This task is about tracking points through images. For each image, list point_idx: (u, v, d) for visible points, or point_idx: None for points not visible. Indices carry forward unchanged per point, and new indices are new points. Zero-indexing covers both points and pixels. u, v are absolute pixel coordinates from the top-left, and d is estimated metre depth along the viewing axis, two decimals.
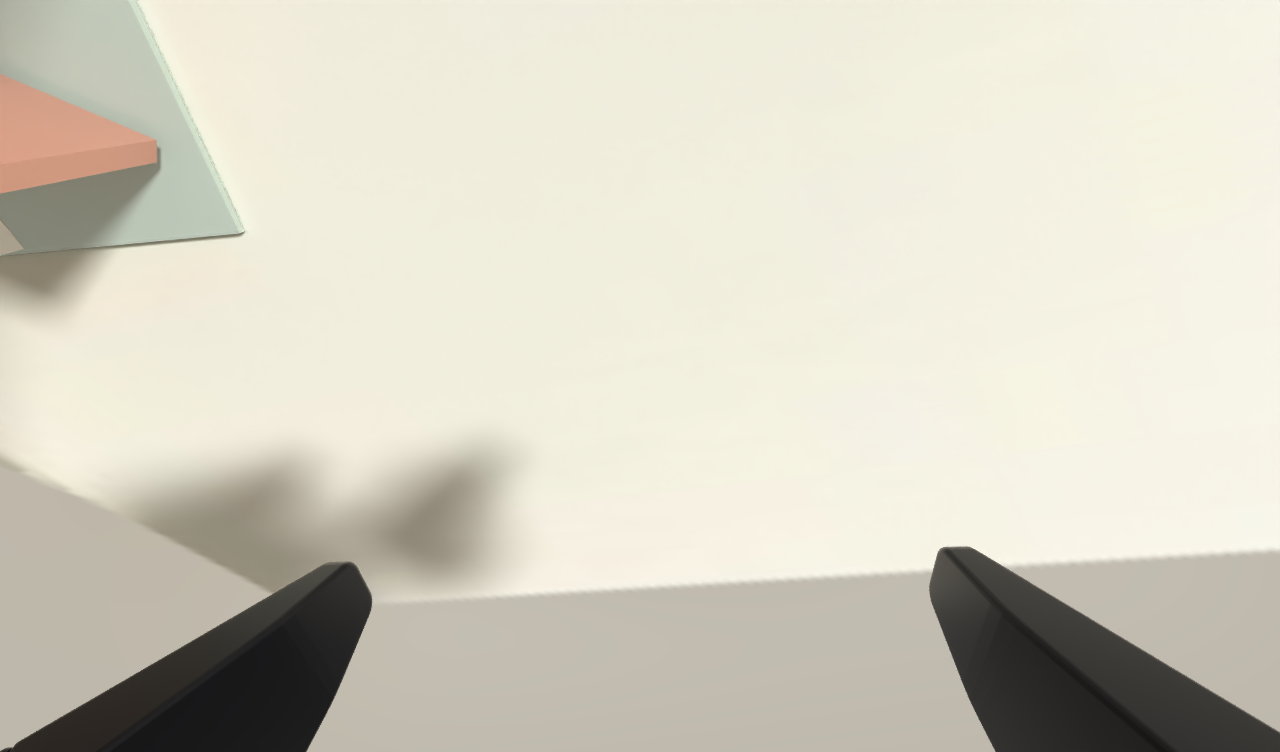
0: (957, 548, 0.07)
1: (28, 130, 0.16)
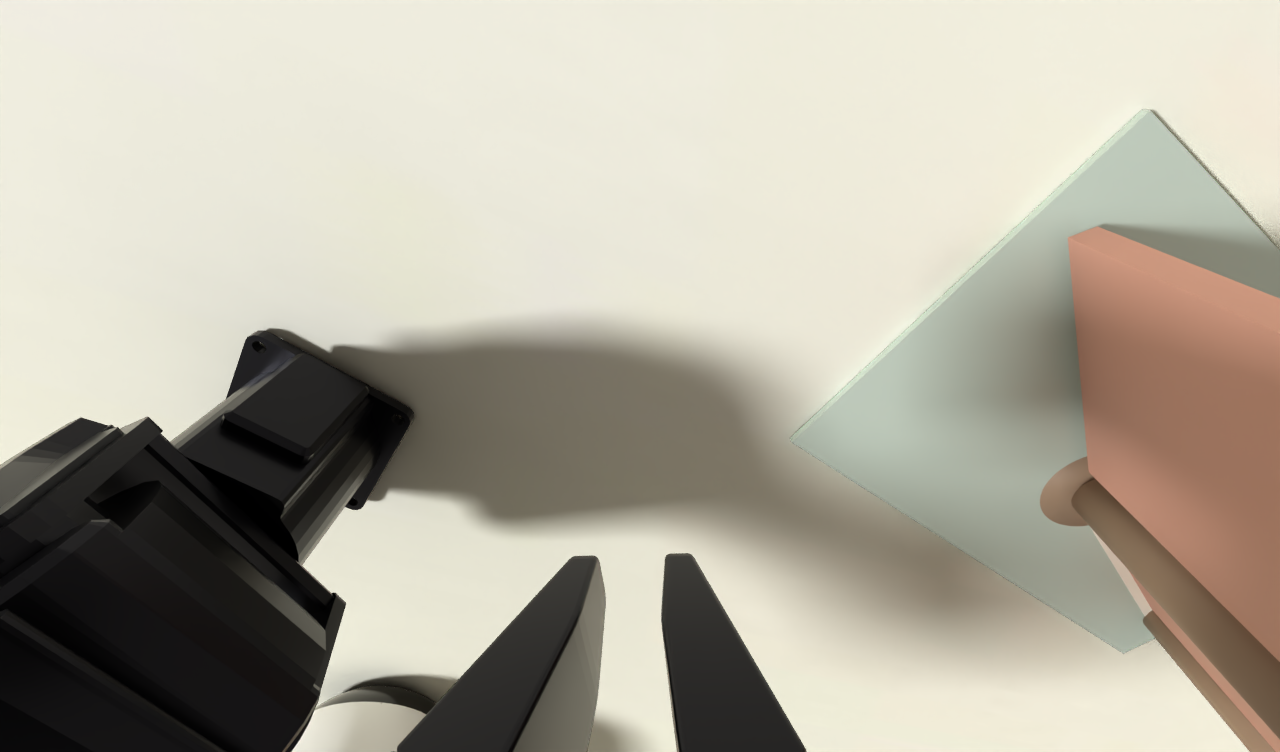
0: (677, 555, 0.08)
1: (1137, 315, 0.15)
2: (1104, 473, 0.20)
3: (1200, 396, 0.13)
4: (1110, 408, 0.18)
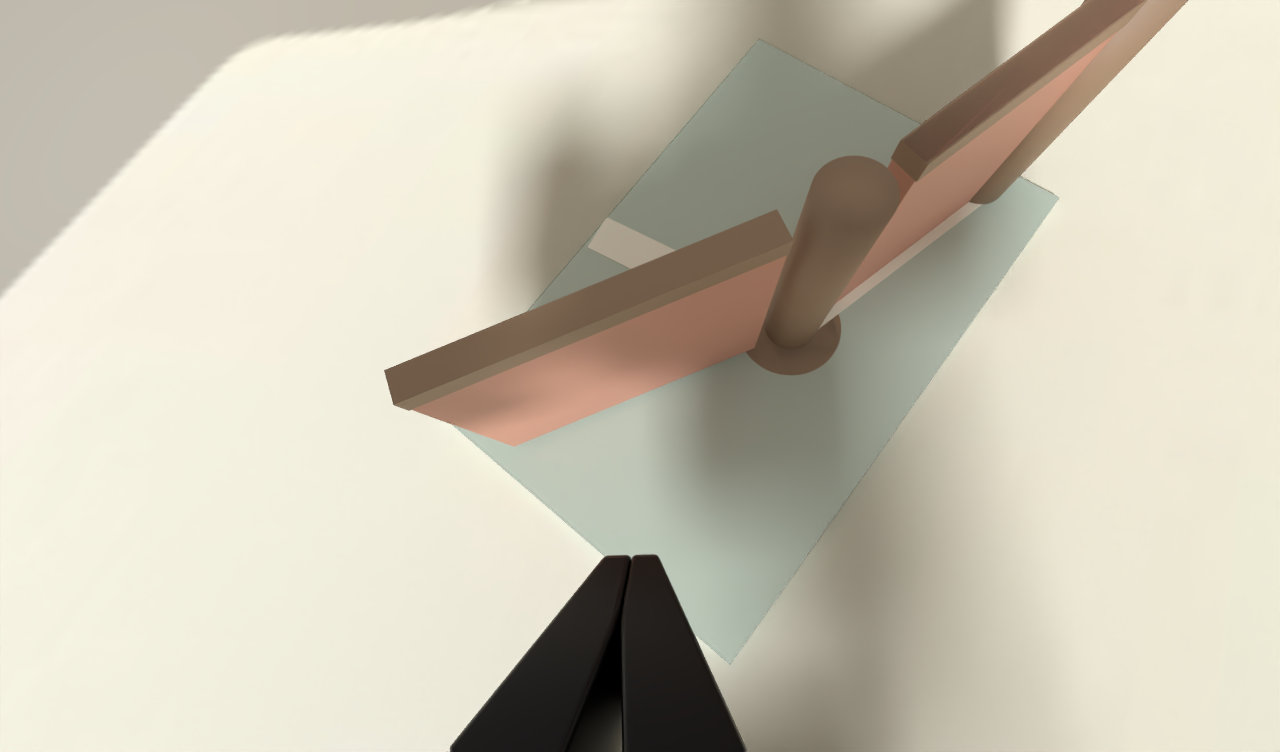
0: (643, 556, 0.08)
1: (526, 420, 0.18)
2: (737, 348, 0.20)
3: (548, 391, 0.16)
4: (648, 381, 0.19)
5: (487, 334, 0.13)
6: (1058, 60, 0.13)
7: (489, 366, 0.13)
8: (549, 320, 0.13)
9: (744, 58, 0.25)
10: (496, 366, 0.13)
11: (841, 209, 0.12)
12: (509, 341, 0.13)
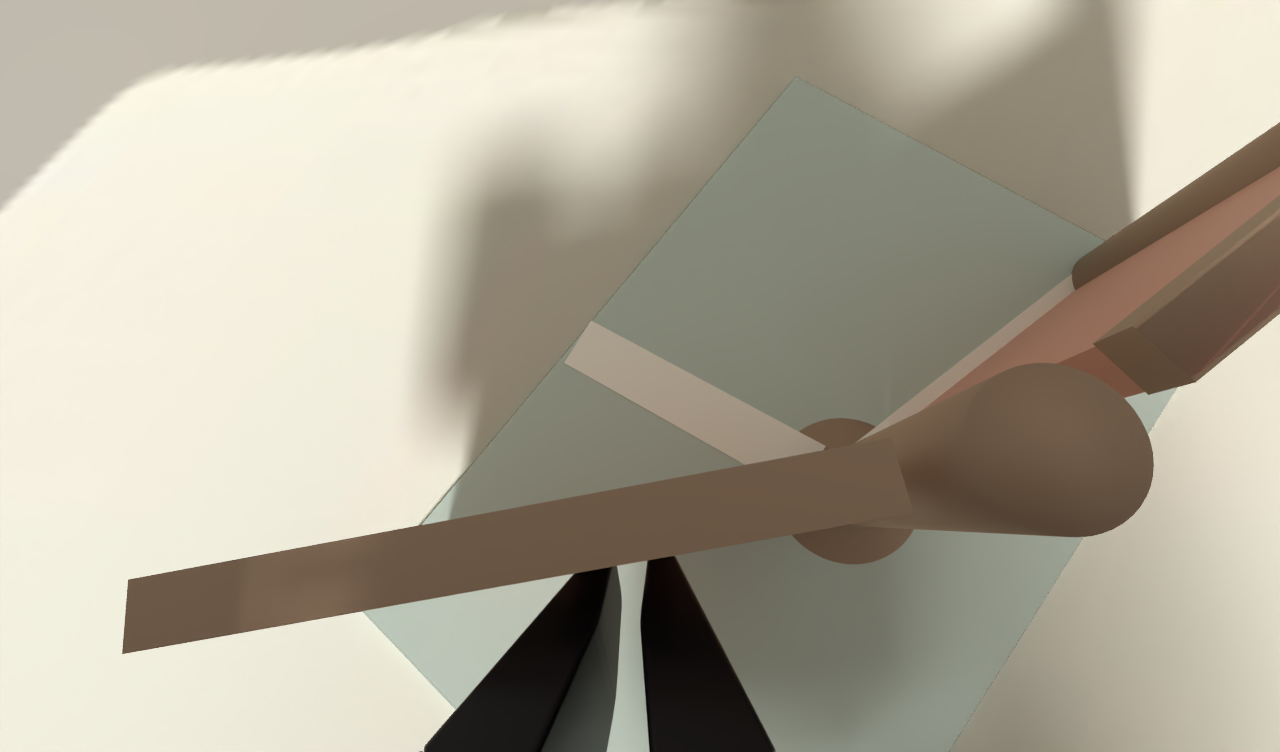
0: None
1: None
2: None
3: None
4: None
5: (313, 557, 0.07)
6: None
7: (306, 616, 0.07)
8: (425, 559, 0.07)
9: (776, 102, 0.18)
10: (323, 612, 0.07)
11: (1025, 475, 0.06)
12: (346, 582, 0.07)
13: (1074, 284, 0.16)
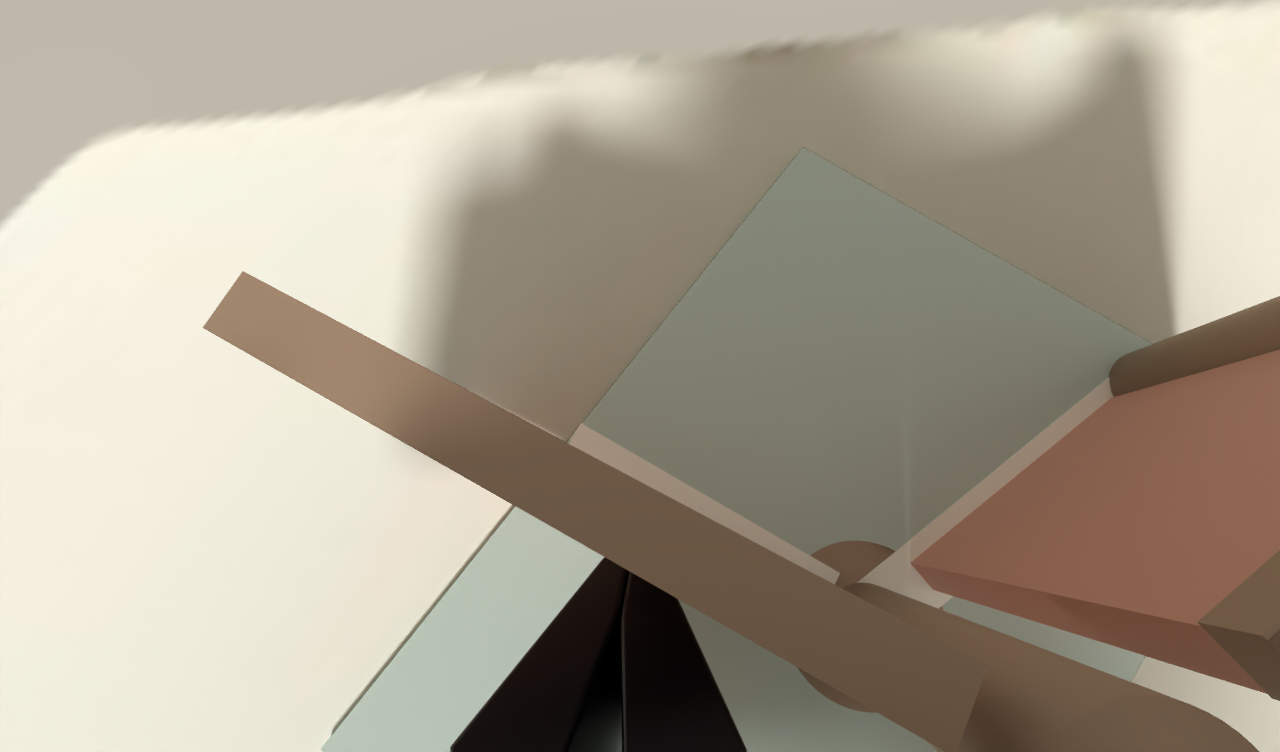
0: None
1: None
2: None
3: None
4: None
5: (385, 360, 0.07)
6: None
7: (349, 404, 0.07)
8: (470, 432, 0.06)
9: (782, 176, 0.17)
10: (362, 410, 0.07)
11: None
12: (396, 402, 0.07)
13: (1112, 390, 0.14)
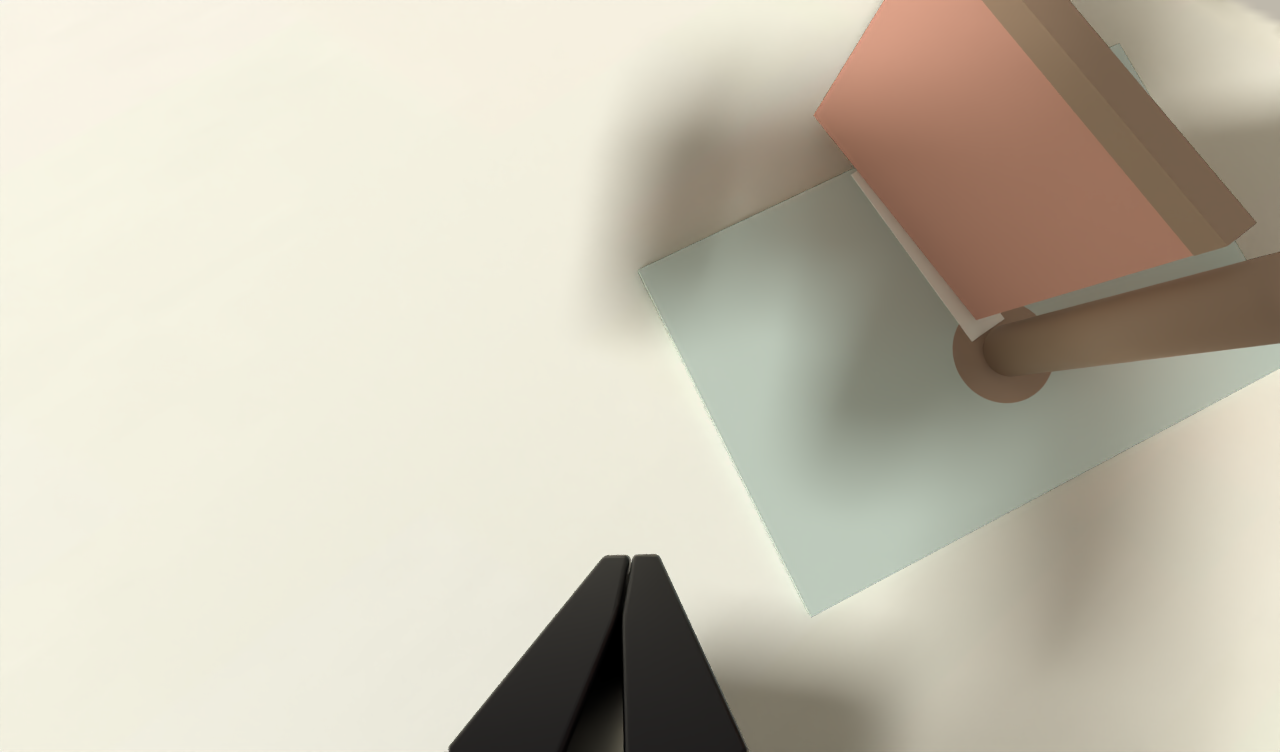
0: (643, 556, 0.08)
1: (869, 101, 0.18)
2: (979, 297, 0.19)
3: (930, 94, 0.16)
4: (927, 216, 0.19)
5: None
6: None
7: None
8: (1070, 28, 0.12)
9: None
10: None
11: None
12: None
13: None
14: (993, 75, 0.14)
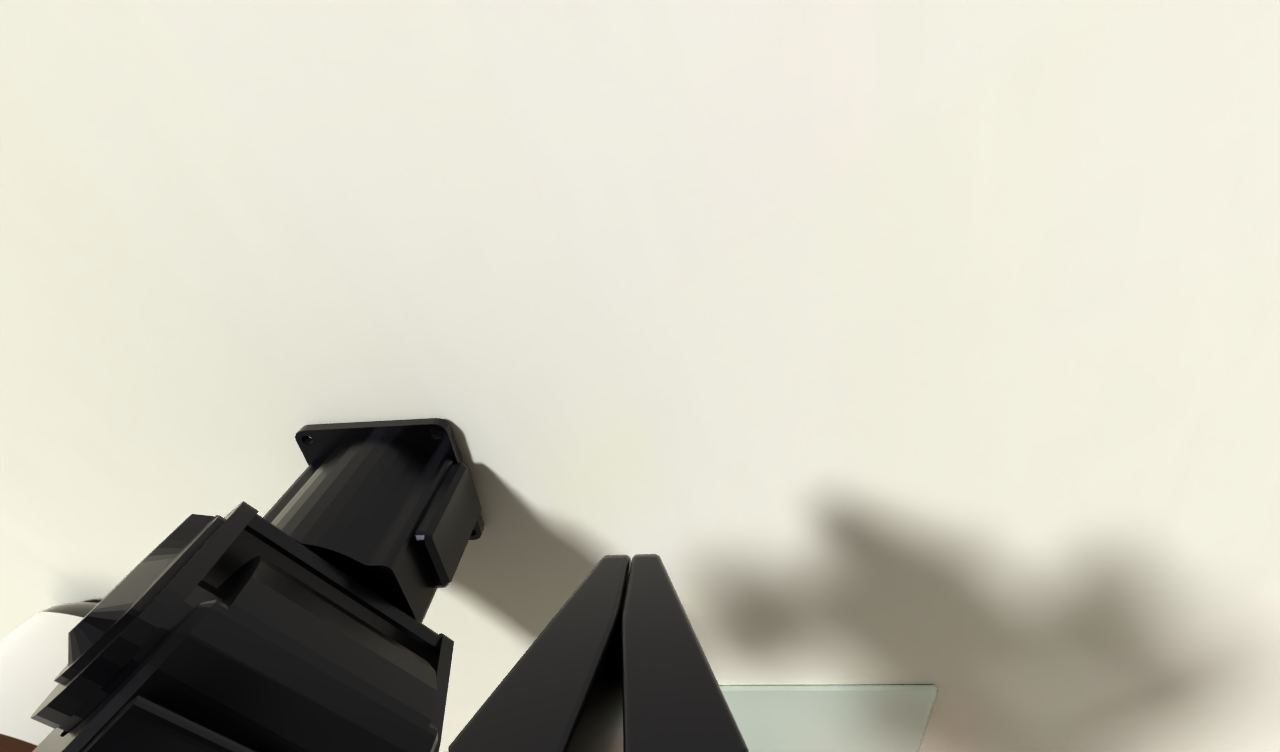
0: (644, 556, 0.08)
1: None
2: None
3: None
4: None
5: None
6: None
7: None
8: None
9: None
10: None
11: None
12: None
13: None
14: None
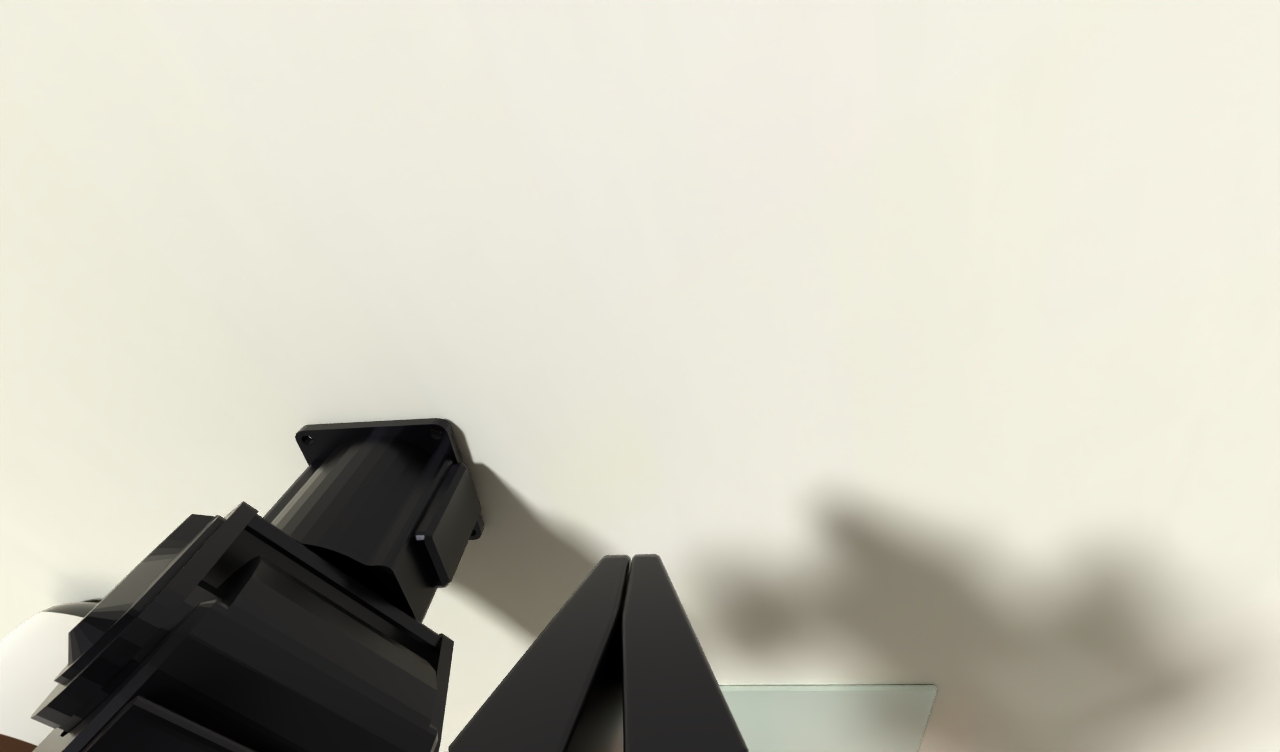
0: (644, 555, 0.08)
1: None
2: None
3: None
4: None
5: None
6: None
7: None
8: None
9: None
10: None
11: None
12: None
13: None
14: None
